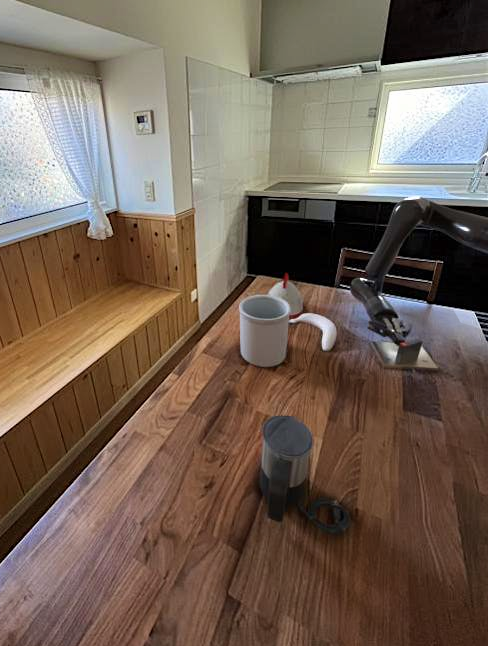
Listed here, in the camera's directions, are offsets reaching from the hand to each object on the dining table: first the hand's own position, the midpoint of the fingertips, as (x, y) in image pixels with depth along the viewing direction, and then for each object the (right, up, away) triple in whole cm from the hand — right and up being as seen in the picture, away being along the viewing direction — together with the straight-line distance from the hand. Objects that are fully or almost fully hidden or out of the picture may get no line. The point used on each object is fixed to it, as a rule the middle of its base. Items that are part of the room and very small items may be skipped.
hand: (401, 343), depth 95 cm
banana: (-19, -1, +18) cm, 26 cm away
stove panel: (+3, -6, +4) cm, 8 cm away
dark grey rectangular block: (+3, -5, +2) cm, 6 cm away
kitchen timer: (-24, +6, +34) cm, 42 cm away
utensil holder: (-37, -6, +10) cm, 39 cm away
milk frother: (-39, -24, -30) cm, 55 cm away
